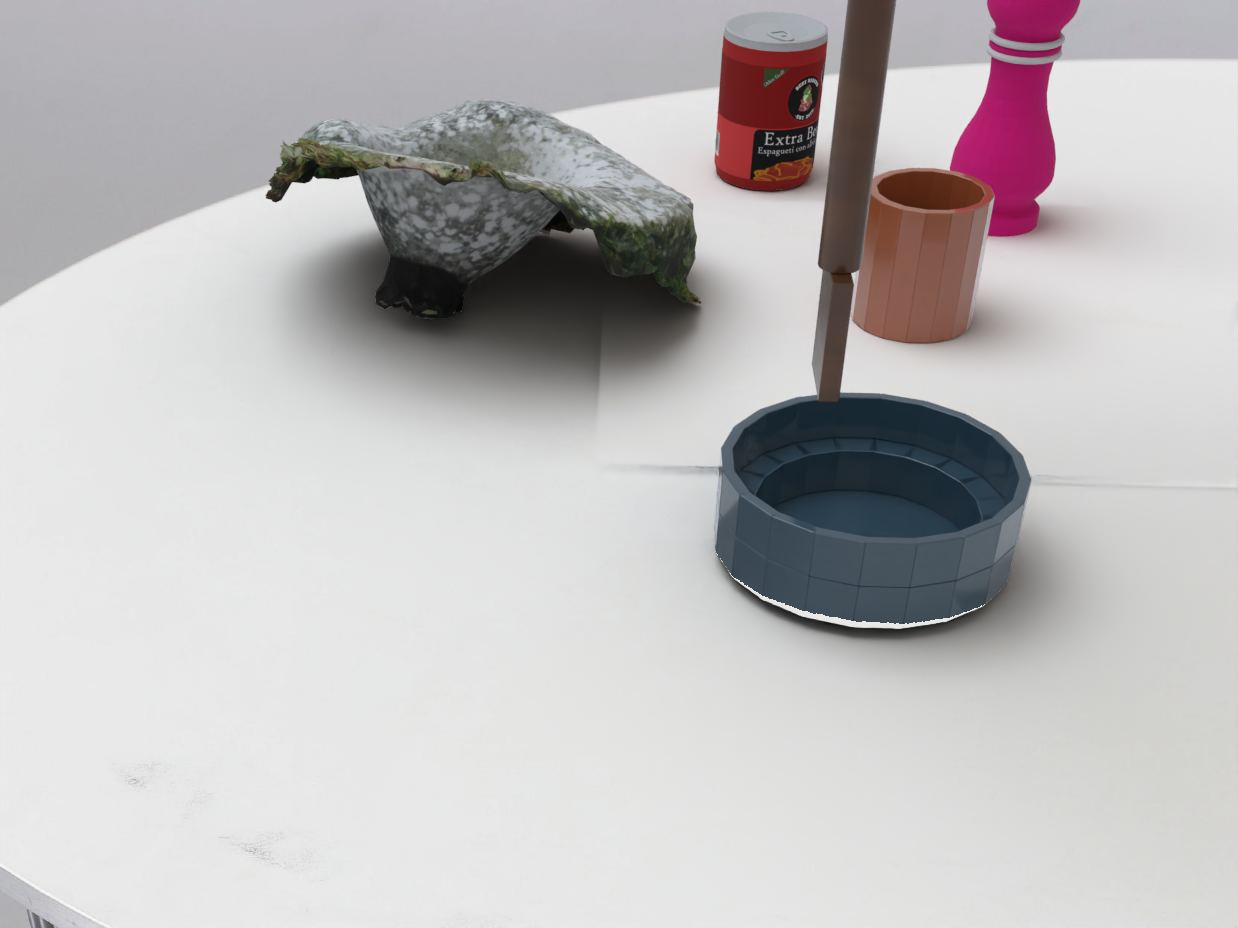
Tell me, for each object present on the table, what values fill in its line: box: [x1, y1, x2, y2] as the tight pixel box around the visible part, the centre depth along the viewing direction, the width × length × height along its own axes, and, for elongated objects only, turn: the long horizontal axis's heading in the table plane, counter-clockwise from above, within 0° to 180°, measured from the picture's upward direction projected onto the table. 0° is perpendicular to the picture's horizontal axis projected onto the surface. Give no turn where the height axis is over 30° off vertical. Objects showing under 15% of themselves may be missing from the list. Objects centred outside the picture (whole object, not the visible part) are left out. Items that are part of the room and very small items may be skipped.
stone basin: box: [264, 98, 703, 320], centre depth 107 cm, size 29×30×15 cm
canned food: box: [714, 11, 829, 192], centre depth 125 cm, size 8×8×11 cm
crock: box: [850, 167, 995, 345], centre depth 105 cm, size 8×8×9 cm
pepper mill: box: [949, 0, 1081, 238], centre depth 114 cm, size 7×7×20 cm
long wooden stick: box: [811, 0, 897, 402], centre depth 73 cm, size 2×4×24 cm, turn 176°
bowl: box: [713, 391, 1032, 624], centre depth 85 cm, size 15×15×6 cm
